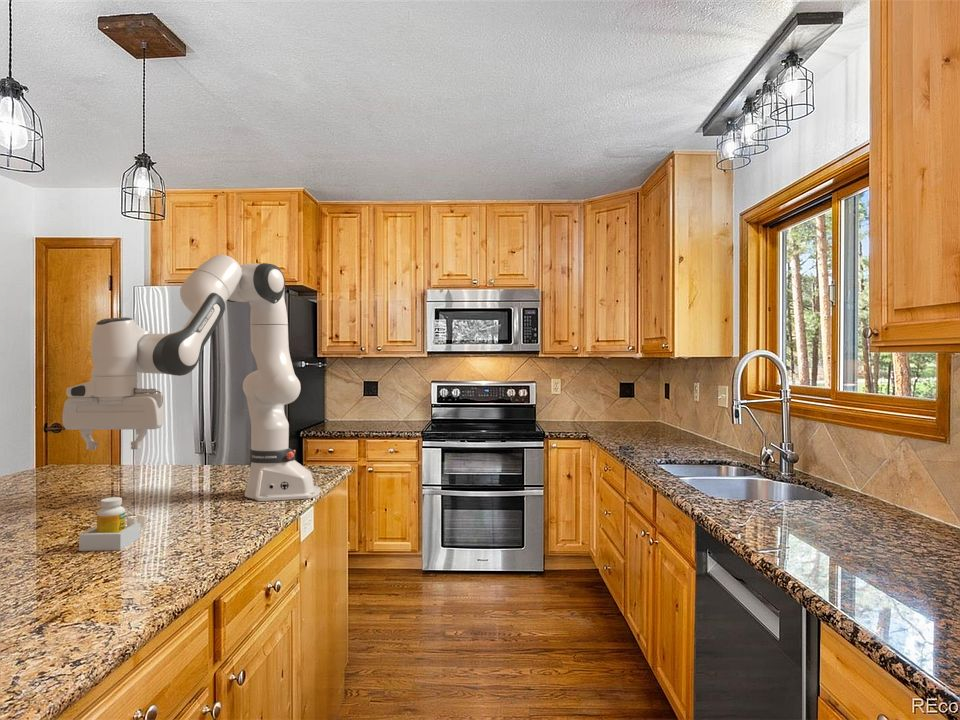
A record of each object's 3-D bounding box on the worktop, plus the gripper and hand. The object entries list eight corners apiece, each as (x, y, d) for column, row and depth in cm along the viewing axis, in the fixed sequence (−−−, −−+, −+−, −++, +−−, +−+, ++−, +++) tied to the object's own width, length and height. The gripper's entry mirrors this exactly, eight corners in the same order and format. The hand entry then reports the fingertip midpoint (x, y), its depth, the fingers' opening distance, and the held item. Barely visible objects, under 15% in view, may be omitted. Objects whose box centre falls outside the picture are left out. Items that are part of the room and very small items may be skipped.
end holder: (140, 537, 130) (140, 522, 130) (120, 550, 122) (120, 534, 122) (101, 538, 130) (101, 523, 130) (78, 550, 121) (79, 534, 121)
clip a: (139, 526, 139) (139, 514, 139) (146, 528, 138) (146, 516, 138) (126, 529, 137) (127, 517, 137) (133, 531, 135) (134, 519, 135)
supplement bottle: (98, 539, 127) (99, 497, 127) (126, 536, 129) (127, 495, 129) (94, 546, 122) (94, 503, 122) (123, 543, 125) (123, 500, 125)
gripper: (168, 387, 131) (168, 446, 131) (75, 387, 129) (75, 447, 129) (156, 389, 125) (155, 451, 125) (58, 389, 123) (57, 451, 123)
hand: (114, 449), depth 127 cm, fingers open, 8 cm apart
